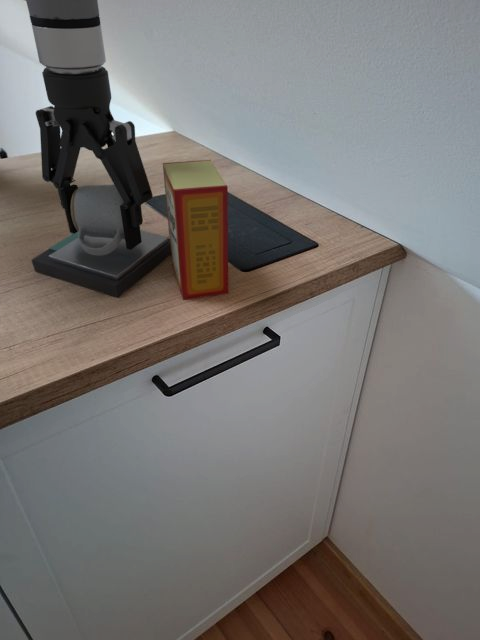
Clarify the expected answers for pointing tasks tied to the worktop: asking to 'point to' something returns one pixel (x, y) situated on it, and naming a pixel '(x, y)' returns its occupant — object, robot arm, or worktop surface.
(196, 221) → the baking soda box
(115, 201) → the ceramic mug
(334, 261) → the worktop surface
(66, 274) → the scale
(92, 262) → the scale pan
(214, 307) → the worktop surface
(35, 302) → the worktop surface
